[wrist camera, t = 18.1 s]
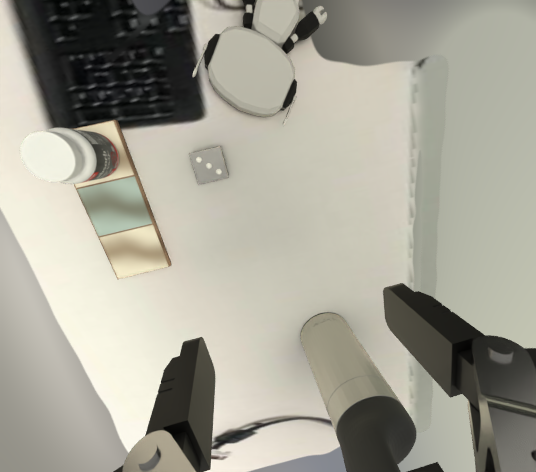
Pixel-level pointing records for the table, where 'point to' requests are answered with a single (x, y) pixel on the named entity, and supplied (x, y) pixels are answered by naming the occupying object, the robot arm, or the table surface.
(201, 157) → the die
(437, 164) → the table surface
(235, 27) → the robot toy
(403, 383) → the table surface
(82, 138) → the pill bottle
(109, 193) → the board
